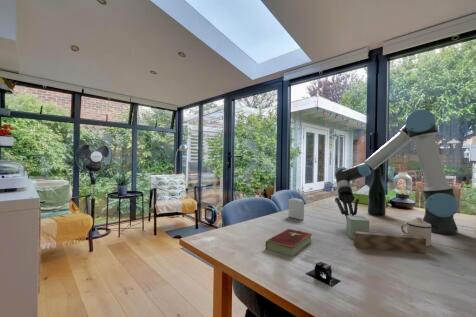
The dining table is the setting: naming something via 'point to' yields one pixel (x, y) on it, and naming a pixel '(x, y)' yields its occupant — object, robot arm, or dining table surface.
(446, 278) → the dining table surface
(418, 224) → the teacup with lid
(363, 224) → the sage block
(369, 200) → the dark green wine bottle
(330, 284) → the black tape dispenser
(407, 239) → the walnut board
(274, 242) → the hardcover book
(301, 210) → the grey arched block
